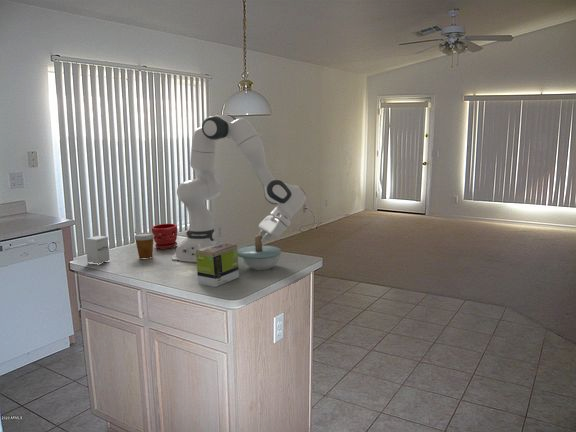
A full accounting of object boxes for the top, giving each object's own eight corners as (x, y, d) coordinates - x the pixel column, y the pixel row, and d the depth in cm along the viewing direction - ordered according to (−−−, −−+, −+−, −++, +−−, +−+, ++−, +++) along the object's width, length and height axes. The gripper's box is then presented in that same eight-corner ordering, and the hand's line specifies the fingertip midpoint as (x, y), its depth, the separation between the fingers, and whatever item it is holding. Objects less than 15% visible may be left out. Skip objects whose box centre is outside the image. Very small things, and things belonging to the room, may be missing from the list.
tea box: (222, 274, 213) (220, 241, 211) (239, 278, 208) (238, 244, 205) (197, 283, 201) (195, 248, 199) (215, 287, 196) (213, 251, 193)
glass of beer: (158, 255, 248) (157, 232, 246) (150, 260, 239) (148, 236, 237) (141, 255, 250) (139, 232, 248) (132, 260, 241) (130, 236, 239)
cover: (231, 258, 213) (230, 240, 211) (242, 247, 232) (242, 230, 231) (276, 259, 210) (276, 241, 208) (284, 248, 229) (284, 231, 228)
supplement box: (98, 265, 232) (95, 239, 230) (87, 264, 236) (84, 238, 233) (110, 261, 239) (108, 236, 237) (99, 260, 242) (97, 235, 240)
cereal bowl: (272, 261, 233) (272, 246, 232) (286, 269, 218) (285, 254, 217) (238, 265, 227) (237, 250, 226) (250, 275, 212) (249, 259, 211)
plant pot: (159, 244, 274) (158, 223, 271) (182, 244, 271) (180, 223, 269) (148, 249, 261) (147, 227, 259) (171, 250, 258) (170, 228, 256)
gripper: (267, 209, 230) (248, 231, 229) (282, 216, 211) (261, 240, 210) (276, 217, 233) (257, 240, 231) (292, 225, 214) (271, 249, 212)
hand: (259, 240), depth 220 cm, fingers open, 4 cm apart
